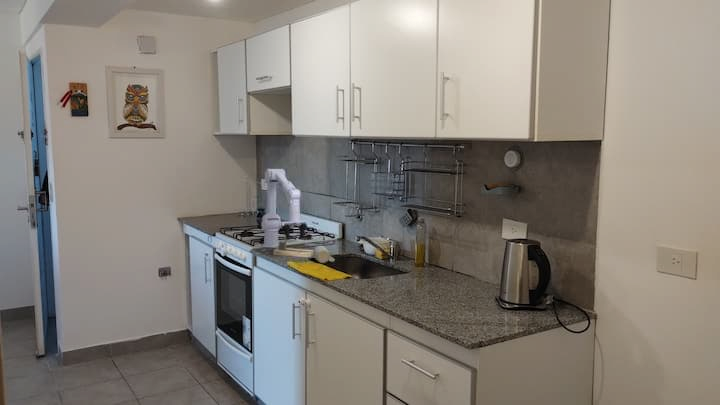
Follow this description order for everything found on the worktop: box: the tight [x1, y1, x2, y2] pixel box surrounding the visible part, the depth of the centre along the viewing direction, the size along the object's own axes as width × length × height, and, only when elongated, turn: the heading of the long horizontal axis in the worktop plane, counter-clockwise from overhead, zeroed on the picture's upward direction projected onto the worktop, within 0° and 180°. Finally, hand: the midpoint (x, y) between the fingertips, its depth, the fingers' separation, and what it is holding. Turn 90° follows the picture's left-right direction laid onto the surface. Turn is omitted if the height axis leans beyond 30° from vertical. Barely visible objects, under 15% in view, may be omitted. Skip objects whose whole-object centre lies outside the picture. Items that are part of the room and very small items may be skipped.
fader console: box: [272, 246, 314, 258], centre depth 311 cm, size 9×20×2 cm, turn 85°
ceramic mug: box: [312, 245, 336, 264], centre depth 299 cm, size 11×8×8 cm
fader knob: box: [278, 240, 287, 250], centre depth 311 cm, size 4×3×4 cm
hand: (294, 239), depth 300 cm, fingers open, 7 cm apart
